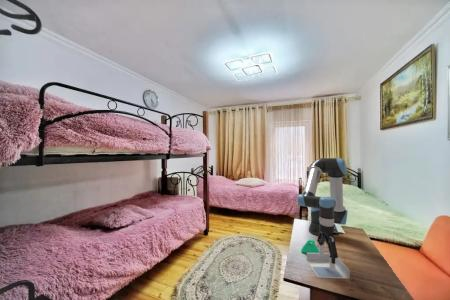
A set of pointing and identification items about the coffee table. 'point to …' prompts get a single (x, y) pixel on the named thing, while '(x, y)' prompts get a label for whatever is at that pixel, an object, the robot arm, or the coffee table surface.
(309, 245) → the camera mount
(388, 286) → the coffee table surface
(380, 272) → the coffee table surface
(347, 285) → the coffee table surface
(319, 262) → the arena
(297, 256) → the coffee table surface
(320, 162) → the robot arm
